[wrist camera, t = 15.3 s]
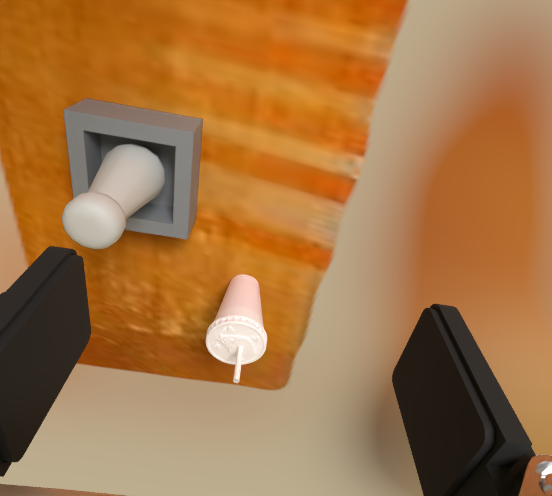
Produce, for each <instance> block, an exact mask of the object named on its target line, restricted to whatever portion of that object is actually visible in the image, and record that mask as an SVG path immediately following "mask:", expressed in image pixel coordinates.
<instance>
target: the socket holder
mask: <svg viewBox="0 0 552 496" xmlns="http://www.w3.org/2000/svg"><path fill="white" fill-rule="evenodd" d="M64 119H65V127H66V136H67V145H68V153H69V162H70V171H71V179H72V188H73V197H74V198H76V197H77V196H78V195H80V194H81V193H88V191H89V189H90V187H91V185H92V182H93V180H94V178H95V176H96V174H97V172H98V170H99V168H100V166H101V164H102V162H103V160H104V158H105V156H106V154H107V153H108V152H109V151H111V150H112V149H114V148H115V147H117V146H119V145H123V144H130V143H134V144H139V145H142V146H143V147H146V148H148V149H149V150H151V151H153V152H154V153H156V154H158V157H159V160H160V161H161V163H162V165H163V167H164V169H165V184H164V186H163V188H162V190H161V192H160V194H159V195H158V196H156V197H155V198H154V199H152V200H151V201H149V202H148V203H147V204H145V205H144V206H142V207H141V208H140V209H139V210H137V211H136V212H135V213H133V214H132V215H131V216H130V217H128V218H127V219H126V227H125V229H124V230H130V231H136V232H143V233H149V234H155V235H162V236H168V237H175V238H181V239H188V237H189V234H190V232H191V229H192V227H193V224H194V222H195V219H196V210H197V196H198V181H199V167H200V153H201V139H202V125H203V119H200V118H194V117H188V116H183V115H177V114H172V113H166V112H161V111H155V110H149V109H144V108H138V107H133V106H127V105H121V104H116V103H110V102H105V101H99V100H93V99H88V98H86V99H84V100H82V101H80V102H78V103H76V104H74V105H72V106H70V107H68V108H66V109H64Z"/></svg>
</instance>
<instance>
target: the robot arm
mask: <svg viewBox="0 0 552 496" xmlns="http://www.w3.org/2000/svg"><path fill="white" fill-rule="evenodd" d="M90 335H91V326H90V317H89V308H88V299H87V290H86V281H85V272H84V263H83V258H82V257H81V256H77V253H76V251H75V250H73V249H68V248H61V247H54V246H50V247H48V248H47V249H46V250H45V251H44V252H43V253H42V254H41V255H40V256H39V257H38V258H37V259H36V260H35V261H34V262H33V264H32V265H31V266H30V267H29V268H28V269H27V270H26V271H25V272H24V273H23V274H22V275H21V276H20V277H19V278H18V279H17V280H16V281H15V282H14V284H13V285H12V286H11V287H10V288H9V289H8V290H7V291H6V292H4V293H2V294H0V476H4V475H5V473H6V472H7V470H8V468H9V466H10V465H11V463H12V462H18V461H19V460H20V459H21V458H22V457H23V455H24V453H25V452H26V450H27V448H28V447H29V445H30V443H31V441H32V439H33V438H34V436H35V434H36V433H37V431H38V429H39V427H40V426H41V424H42V422H43V420H44V419H45V417H46V415H47V413H48V412H49V410H50V408H51V406H52V405H53V403H54V401H55V399H56V398H57V396H58V394H59V392H60V391H61V389H62V387H63V385H64V383H65V382H66V380H67V378H68V377H69V375H70V373H71V371H72V370H73V368H74V366H75V365H76V363H77V361H78V359H79V358H80V356H81V354H82V352H83V351H84V349H85V347H86V345H87V343H88V341H89V339H90ZM392 382H393V386H394V390H395V394H396V397H397V401H398V404H399V408H400V411H401V415H402V419H403V423H404V426H405V430H406V433H407V437H408V440H409V444H410V448H411V451H412V455H413V458H414V462H415V465H416V469H417V473H418V476H419V480H420V484H421V487H422V491H423V494H424V496H552V456H550V455H537V456H536V455H535V453H534V451H533V449H532V447H531V445H532V443H531V441H530V440H529V437H528V436H527V434H526V432H525V430H524V429H523V427H522V425H521V423H520V421H519V419H518V418H517V416H516V414H515V412H514V410H513V408H512V407H511V405H510V403H509V401H508V399H507V398H506V396H505V394H504V392H503V390H502V389H501V387H500V385H499V383H498V382H497V380H496V378H495V376H494V374H493V372H492V371H491V369H490V367H489V365H488V363H487V362H486V360H485V358H484V356H483V354H482V353H481V351H480V349H479V348H478V346H477V344H476V342H475V340H474V338H473V336H472V334H471V333H470V331H469V329H468V327H467V325H466V324H465V322H464V320H463V318H462V316H461V315H460V313H459V311H458V310H457V308H456V307H453V306H446V305H440V304H433V305H432V306H431V307H430V308H425V309H424V311H423V312H422V314H421V317H420V318H419V320H418V323H417V325H416V327H415V329H414V331H413V333H412V335H411V337H410V339H409V341H408V343H407V345H406V347H405V349H404V351H403V353H402V355H401V357H400V359H399V361H398V363H397V365H396V367H395V369H394V371H393V375H392ZM0 496H124V495H114V494H105V493H104V494H103V493H95V492H85V491H74V490H64V489H52V488H41V487H29V486H16V485H5V484H0Z"/></svg>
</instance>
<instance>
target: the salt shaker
mask: <svg viewBox="0 0 552 496" xmlns="http://www.w3.org/2000/svg"><path fill="white" fill-rule="evenodd" d="M164 184H165V169H164V167H163V165H162V163H161V161H160V160H159V157H158V154H156V153H154V152H153V151H151V150H149V149H148V148H146V147H143V146H142V145H139V144H134V143H130V144H123V145H119V146H117V147H115V148H114V149H112V150H111V151H109V152H108V153H107V154H106V156H105V158H104V160H103V162H102V164H101V166H100V168H99V170H98V172H97V174H96V176H95V178H94V180H93V182H92V185H91V187H90V189H89V191H88V193H81V194H80V195H78V196H77V197H76V198H74V199H73V200H71V201H70V202H69V203H68V204H67V205H66V207H65V209H64V212H63V215H62V222H63V227H64V230H65V231H66V232H67V233H68V235H69V236H70V237H71V239H73V240H74V241H76V242H77V243H79V244H80V245H81V246H84V247H88V248H91V249H104V248H108V247H109V246H111V245H112V244H114V243H115V242H116V241H117V240H119V239H120V237H121V235H122V233H123V231H124V229H125V227H126V219H127V218H128V217H130V216H131V215H132V214H133V213H135V212H136V211H137V210H139V209H140V208H141V207H142V206H144V205H145V204H147V203H148V202H149V201H151V200H152V199H154V198H155V197H156V196H158V195H159V194H160V192H161V190H162V188H163V186H164Z"/></svg>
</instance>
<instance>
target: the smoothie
mask: <svg viewBox="0 0 552 496" xmlns="http://www.w3.org/2000/svg"><path fill="white" fill-rule="evenodd" d="M266 343H267V334H266V332H265V330H264V328H263V320H262V310H261V300H260V290H259V284H258V282H257V280H256V279H255V278H253V277H252V276H249V275H238V276H235V277H234V278H233V279H232V280H231V281H230V283H229V286H228V288H227V291H226V293H225V296H224V298H223V301H222V303H221V306H220V308H219V311H218V313H217V315H216V318H215V320H214V322H213V323H212V324H211V325H210V326H209V328H208V330H207V335H206V346H207V349H208V351H209V352H210V353H211V354H212V355H213V356H214V357H215V358H216V359H218V360H220V361H222V362H225V363H228V364H233V365H235V372H234V379H233V382H234V383H238V382H239V378H240V370H241V365H243V364H248V363H251V362H254V361H256V360H257V359H259V358H260V357H261V356H262V355H263V354H264V352H265V350H266Z"/></svg>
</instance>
